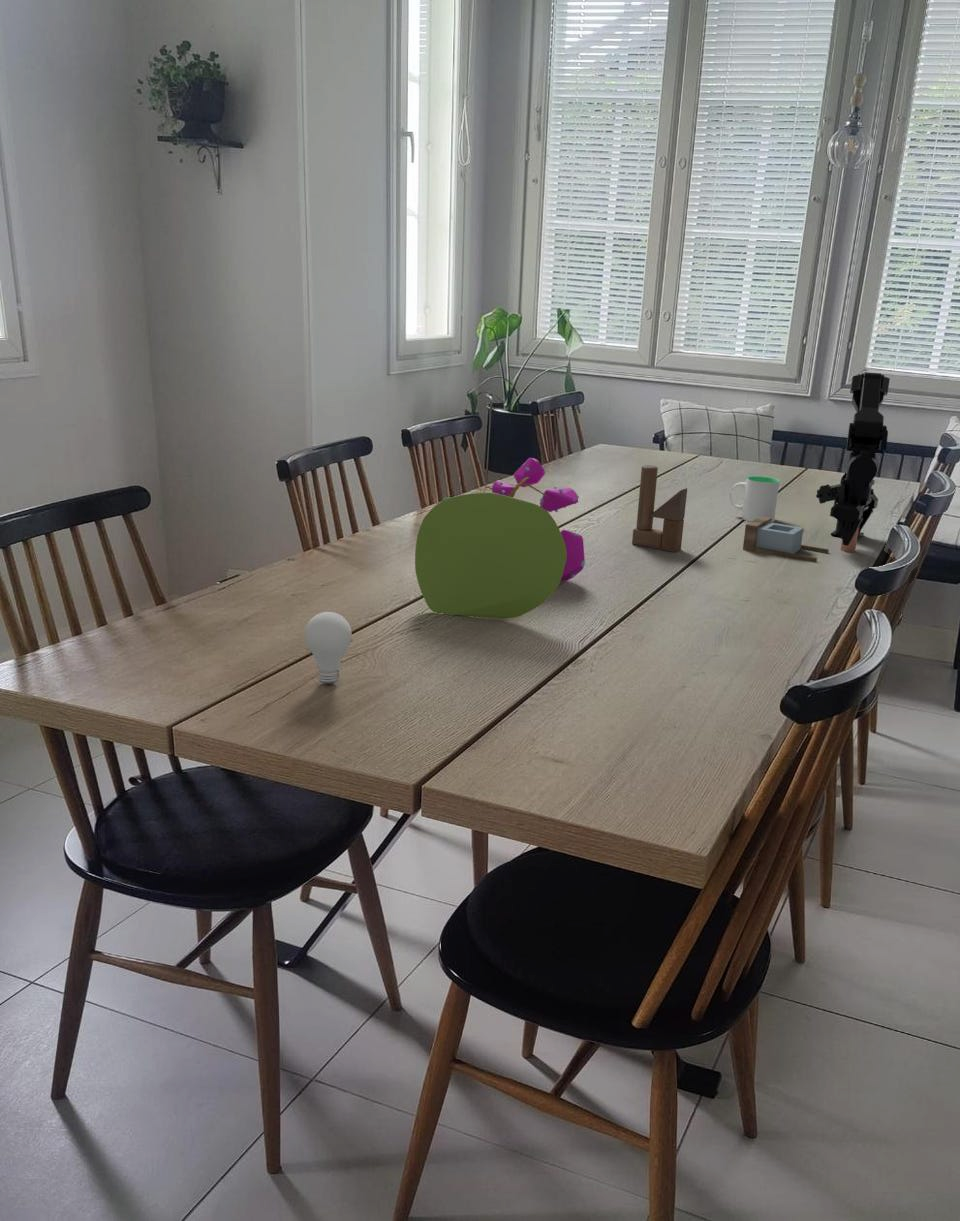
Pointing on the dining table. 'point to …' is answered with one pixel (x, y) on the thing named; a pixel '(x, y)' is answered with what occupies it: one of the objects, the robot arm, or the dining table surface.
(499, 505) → the green pad purple flowers
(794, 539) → the socket block
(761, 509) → the mug
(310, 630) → the light bulb
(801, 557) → the track wall
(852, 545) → the pink rectangular block
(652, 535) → the wooden block
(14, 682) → the dining table surface
